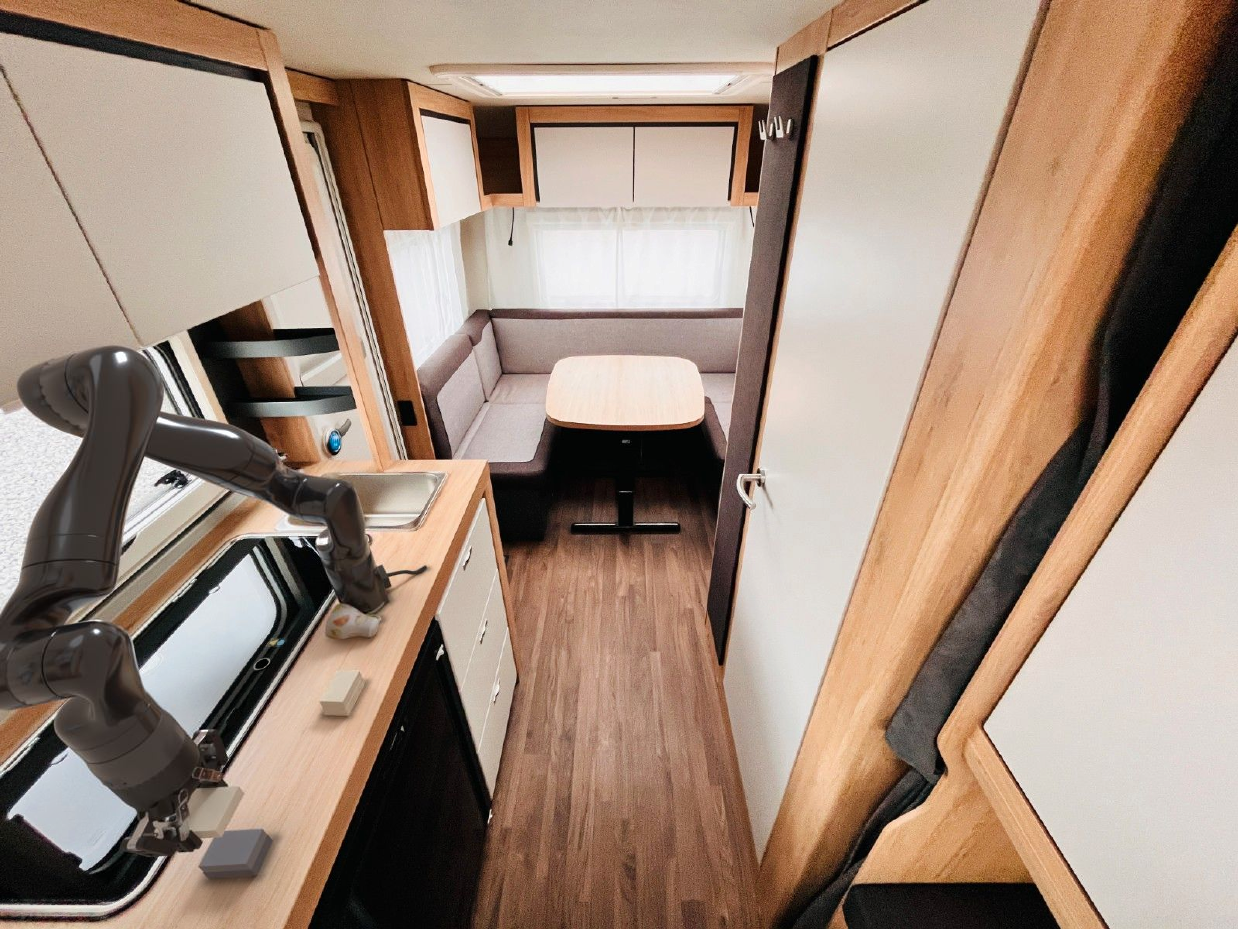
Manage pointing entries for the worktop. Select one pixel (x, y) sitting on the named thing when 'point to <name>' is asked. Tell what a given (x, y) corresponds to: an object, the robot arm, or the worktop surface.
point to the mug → (350, 623)
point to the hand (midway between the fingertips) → (208, 820)
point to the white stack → (342, 692)
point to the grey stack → (236, 854)
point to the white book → (212, 810)
